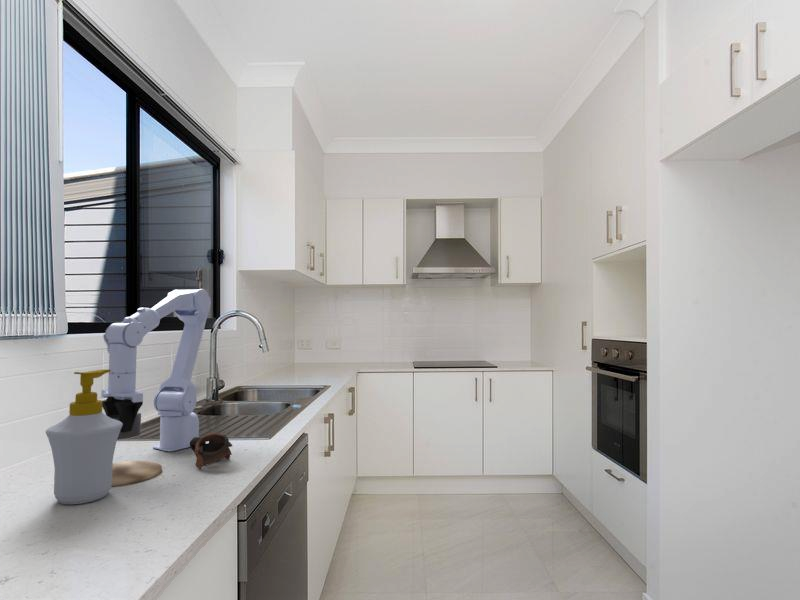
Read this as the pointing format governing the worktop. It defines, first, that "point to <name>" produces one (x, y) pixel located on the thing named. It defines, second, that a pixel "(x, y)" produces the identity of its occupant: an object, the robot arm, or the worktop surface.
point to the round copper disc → (134, 472)
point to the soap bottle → (84, 447)
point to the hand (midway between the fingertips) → (120, 430)
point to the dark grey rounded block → (135, 429)
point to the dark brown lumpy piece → (210, 449)
